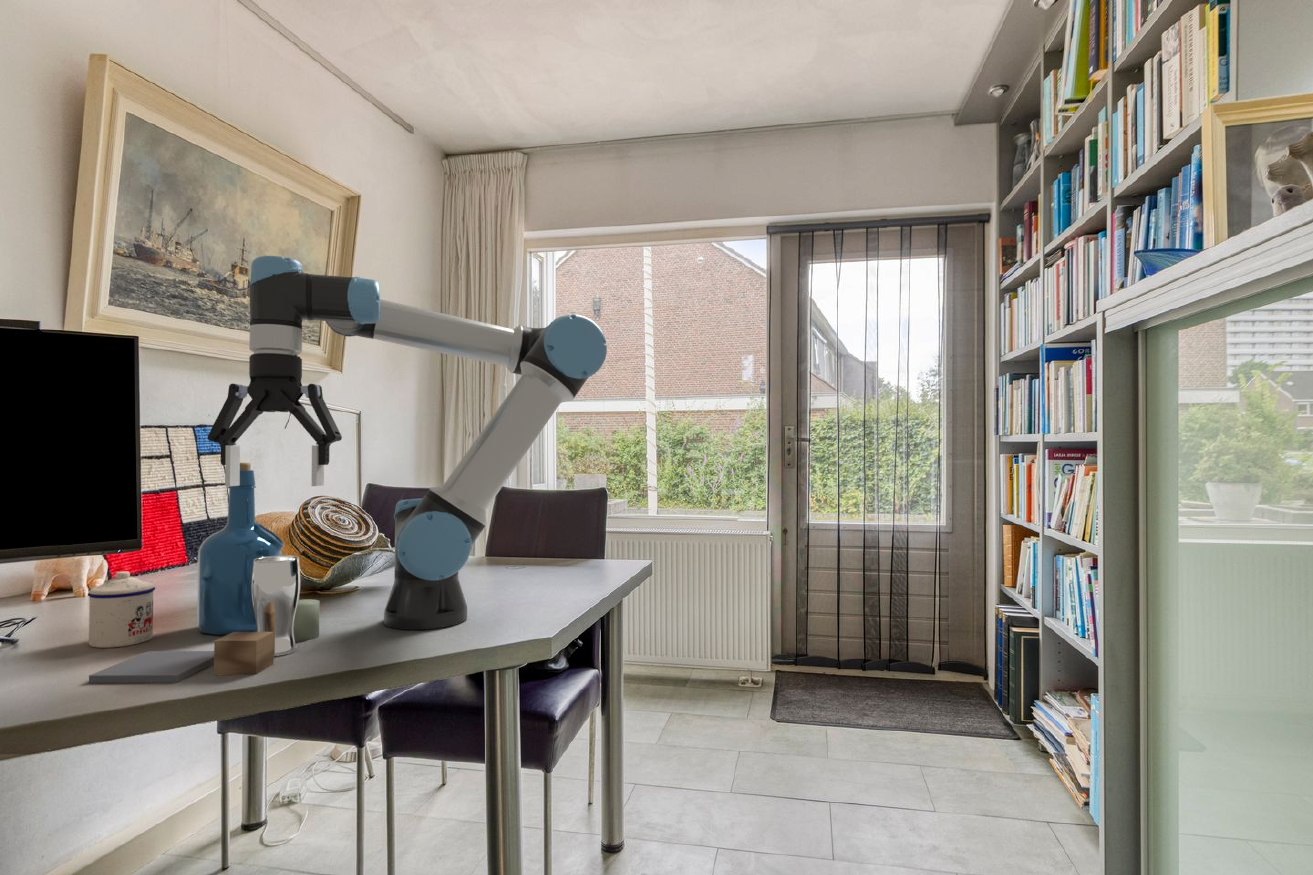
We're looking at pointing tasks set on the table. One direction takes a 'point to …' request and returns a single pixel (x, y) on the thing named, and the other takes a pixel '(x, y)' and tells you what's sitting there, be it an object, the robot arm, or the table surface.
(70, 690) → the table surface
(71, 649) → the table surface
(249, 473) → the wine bottle
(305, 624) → the pale green rounded cube
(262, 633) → the walnut block
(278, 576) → the beer glass
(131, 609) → the teacup with lid
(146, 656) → the charcoal mat
